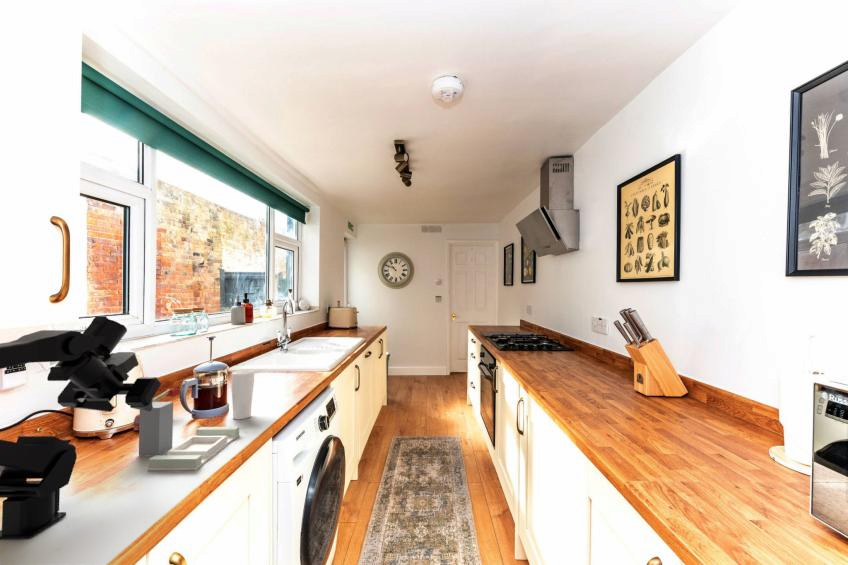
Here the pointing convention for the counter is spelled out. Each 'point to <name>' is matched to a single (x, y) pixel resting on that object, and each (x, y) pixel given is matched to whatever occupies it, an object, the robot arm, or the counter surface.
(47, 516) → the robot arm
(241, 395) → the drinking glass
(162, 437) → the tall grey pillar block
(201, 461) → the tray
